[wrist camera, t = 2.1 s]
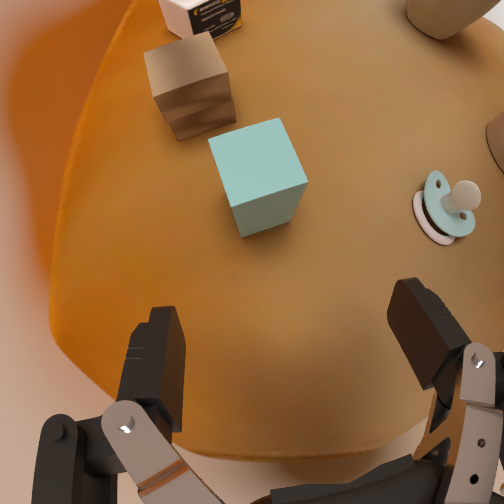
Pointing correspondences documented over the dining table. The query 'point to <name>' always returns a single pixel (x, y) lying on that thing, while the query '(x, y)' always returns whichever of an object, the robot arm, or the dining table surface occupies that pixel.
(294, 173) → the pillar
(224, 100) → the tower upper slab
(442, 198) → the pacifier
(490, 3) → the plant pot
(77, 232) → the dining table surface
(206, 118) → the tower base slab
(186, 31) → the medicine bottle
